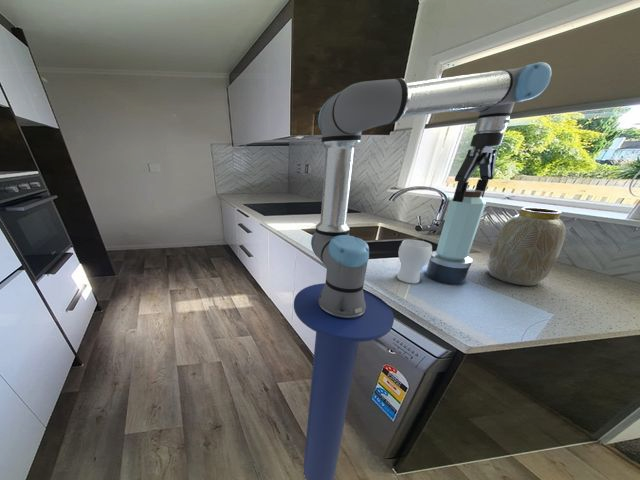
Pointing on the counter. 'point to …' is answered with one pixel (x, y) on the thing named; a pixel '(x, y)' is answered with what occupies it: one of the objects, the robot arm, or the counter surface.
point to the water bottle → (461, 226)
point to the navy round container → (448, 269)
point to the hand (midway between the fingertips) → (467, 199)
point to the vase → (527, 247)
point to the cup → (413, 259)
